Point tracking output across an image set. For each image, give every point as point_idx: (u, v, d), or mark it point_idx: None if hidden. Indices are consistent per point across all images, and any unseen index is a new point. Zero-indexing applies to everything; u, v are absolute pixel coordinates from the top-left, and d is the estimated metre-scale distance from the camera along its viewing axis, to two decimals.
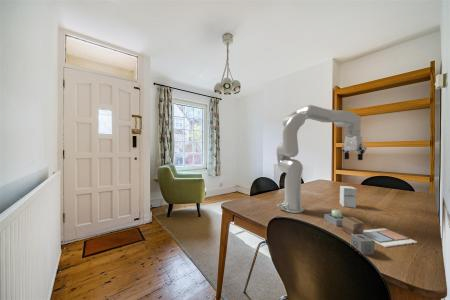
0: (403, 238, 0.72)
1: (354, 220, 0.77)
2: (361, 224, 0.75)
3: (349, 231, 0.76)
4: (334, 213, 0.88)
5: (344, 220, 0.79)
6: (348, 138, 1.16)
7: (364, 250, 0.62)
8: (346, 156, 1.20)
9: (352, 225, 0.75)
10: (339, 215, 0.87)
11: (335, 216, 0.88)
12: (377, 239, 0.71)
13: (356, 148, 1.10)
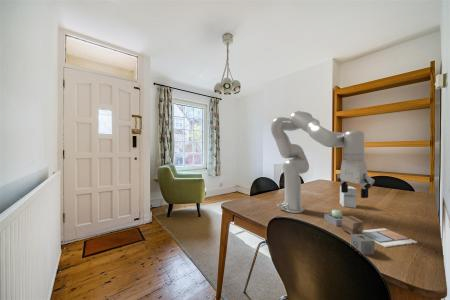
0: (403, 238, 0.72)
1: (354, 219, 0.77)
2: (360, 223, 0.75)
3: (348, 230, 0.77)
4: (334, 213, 0.88)
5: (344, 219, 0.79)
6: (346, 163, 0.79)
7: (364, 250, 0.62)
8: (344, 188, 0.83)
9: (352, 223, 0.75)
10: (339, 215, 0.87)
11: (335, 216, 0.88)
12: (377, 239, 0.71)
13: (358, 180, 0.74)
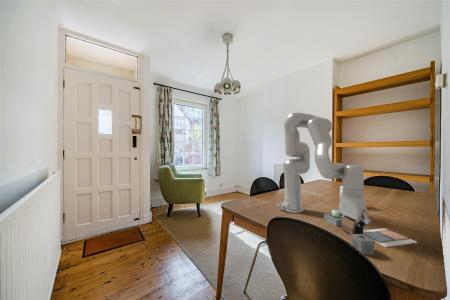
0: (403, 238, 0.72)
1: None
2: None
3: (348, 230, 0.77)
4: (334, 213, 0.88)
5: (344, 219, 0.79)
6: (345, 197, 0.78)
7: (364, 250, 0.62)
8: None
9: (352, 223, 0.75)
10: (339, 215, 0.87)
11: (335, 216, 0.88)
12: (377, 239, 0.71)
13: (357, 217, 0.73)
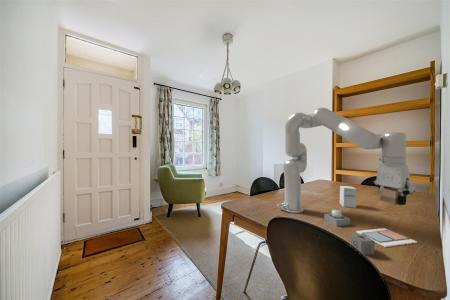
0: (403, 238, 0.72)
1: (395, 189, 0.74)
2: None
3: (390, 200, 0.73)
4: (334, 213, 0.88)
5: (383, 190, 0.76)
6: (385, 167, 0.75)
7: (364, 250, 0.62)
8: None
9: (394, 193, 0.71)
10: (339, 215, 0.87)
11: (335, 216, 0.88)
12: (377, 239, 0.71)
13: (400, 185, 0.70)
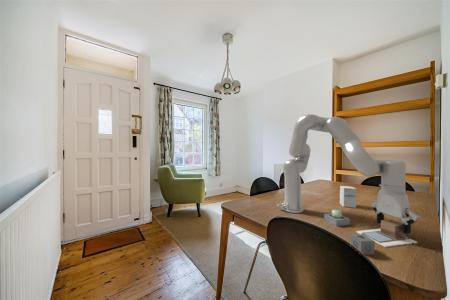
0: (403, 238, 0.72)
1: (394, 222, 0.74)
2: None
3: (390, 234, 0.73)
4: (334, 213, 0.88)
5: (383, 223, 0.76)
6: (385, 195, 0.75)
7: (364, 250, 0.62)
8: (380, 219, 0.79)
9: (393, 227, 0.72)
10: (339, 215, 0.87)
11: (335, 216, 0.88)
12: (377, 239, 0.71)
13: (400, 215, 0.70)
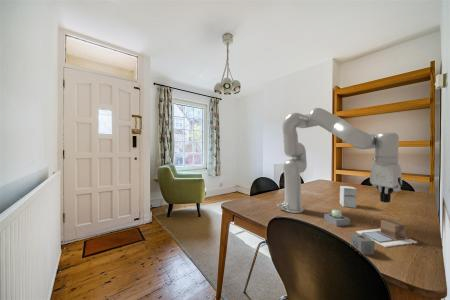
0: (403, 238, 0.72)
1: (394, 222, 0.74)
2: (402, 226, 0.72)
3: (390, 234, 0.73)
4: (334, 213, 0.88)
5: (383, 223, 0.76)
6: (378, 166, 0.77)
7: (364, 250, 0.62)
8: None
9: (393, 227, 0.72)
10: (339, 215, 0.87)
11: (335, 216, 0.88)
12: (377, 239, 0.71)
13: (392, 184, 0.71)
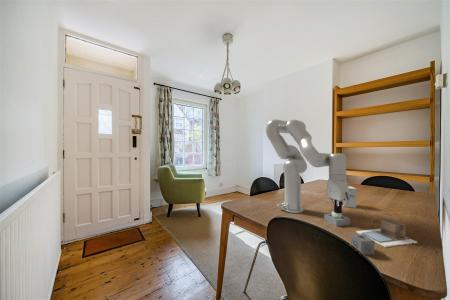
0: (403, 238, 0.72)
1: (394, 222, 0.74)
2: (402, 226, 0.72)
3: (390, 234, 0.73)
4: (334, 215, 0.88)
5: (383, 223, 0.76)
6: (331, 182, 0.89)
7: (364, 250, 0.62)
8: None
9: (393, 227, 0.72)
10: (339, 217, 0.87)
11: None
12: (377, 239, 0.71)
13: (341, 198, 0.84)
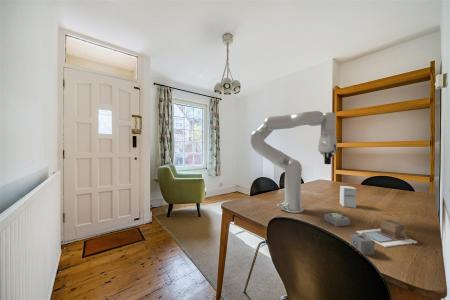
0: (403, 238, 0.72)
1: (394, 222, 0.74)
2: (402, 226, 0.72)
3: (390, 234, 0.73)
4: (334, 217, 0.88)
5: (383, 223, 0.76)
6: (322, 138, 1.03)
7: (364, 250, 0.62)
8: None
9: (393, 227, 0.72)
10: None
11: None
12: (377, 239, 0.71)
13: (330, 149, 0.98)
